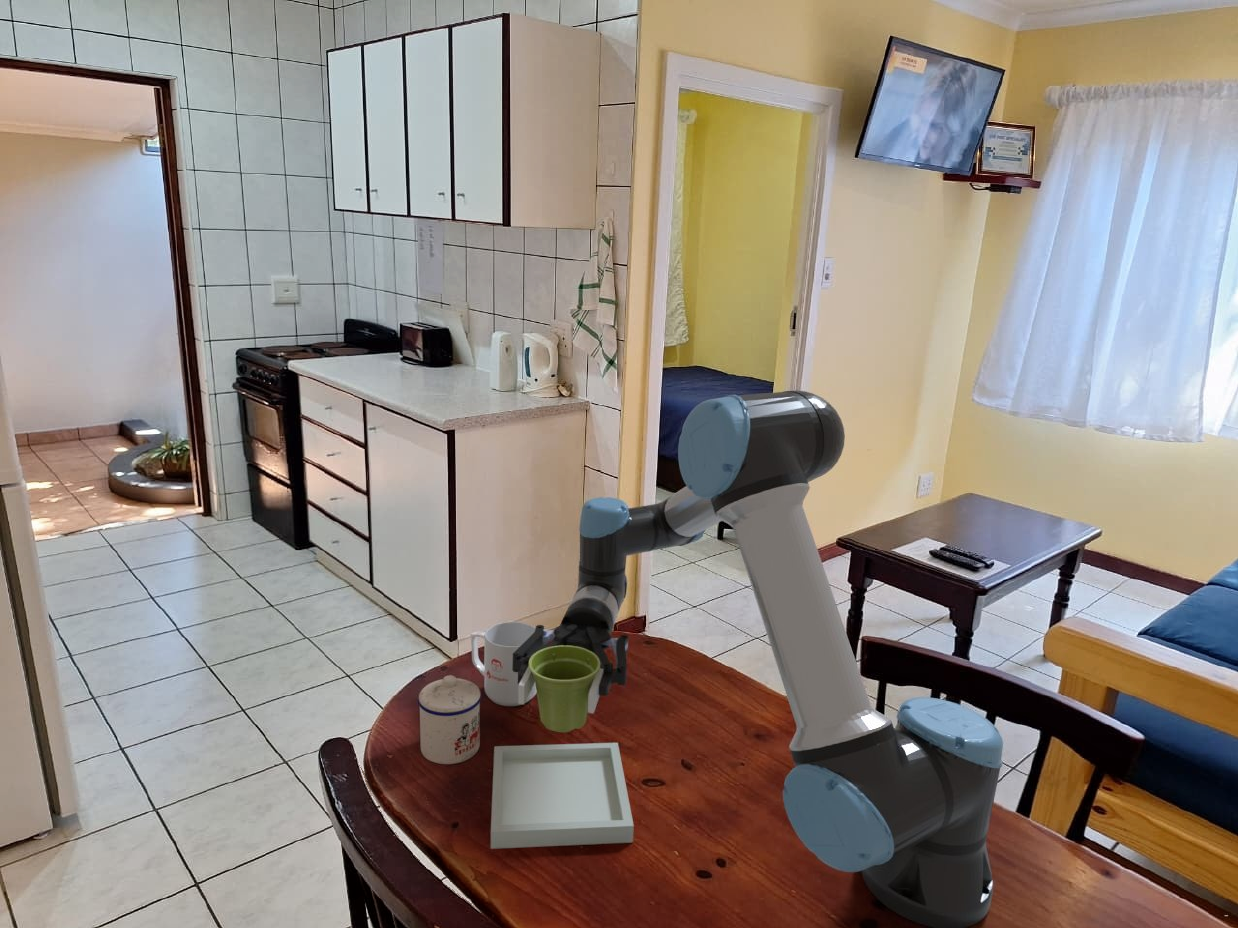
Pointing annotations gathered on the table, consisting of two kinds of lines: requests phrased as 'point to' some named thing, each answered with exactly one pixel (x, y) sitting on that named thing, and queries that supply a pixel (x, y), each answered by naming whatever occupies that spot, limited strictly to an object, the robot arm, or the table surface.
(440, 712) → the teacup with lid
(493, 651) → the mug
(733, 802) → the table surface
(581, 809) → the tray
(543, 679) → the plant pot
